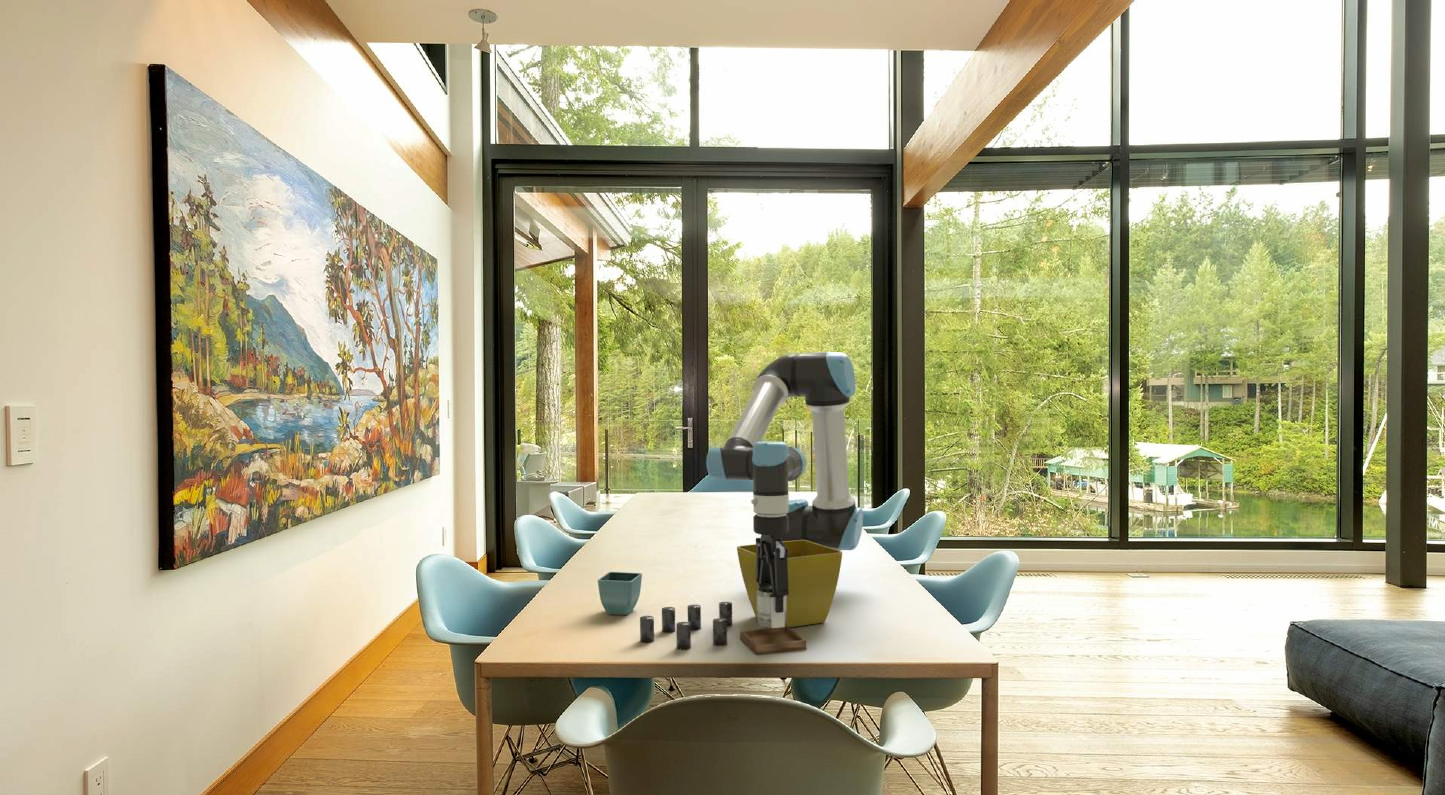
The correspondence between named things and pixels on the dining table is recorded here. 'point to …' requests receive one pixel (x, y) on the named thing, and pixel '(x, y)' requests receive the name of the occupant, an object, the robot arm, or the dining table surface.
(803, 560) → the flower pot
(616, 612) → the flower pot
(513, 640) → the dining table surface
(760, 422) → the robot arm
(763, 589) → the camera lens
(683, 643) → the spacers
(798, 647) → the tray
